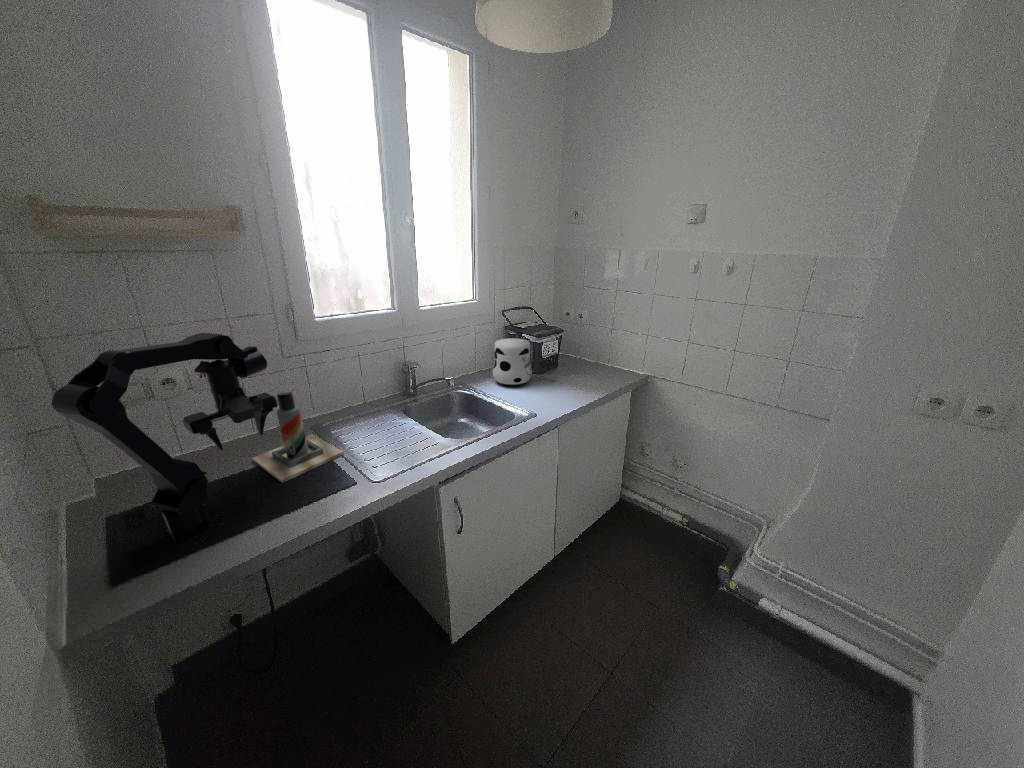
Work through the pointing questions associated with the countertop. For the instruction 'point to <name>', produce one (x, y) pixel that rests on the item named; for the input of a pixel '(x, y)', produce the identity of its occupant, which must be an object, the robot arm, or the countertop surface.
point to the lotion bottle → (291, 426)
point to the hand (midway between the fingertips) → (241, 441)
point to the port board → (297, 459)
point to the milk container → (512, 362)
